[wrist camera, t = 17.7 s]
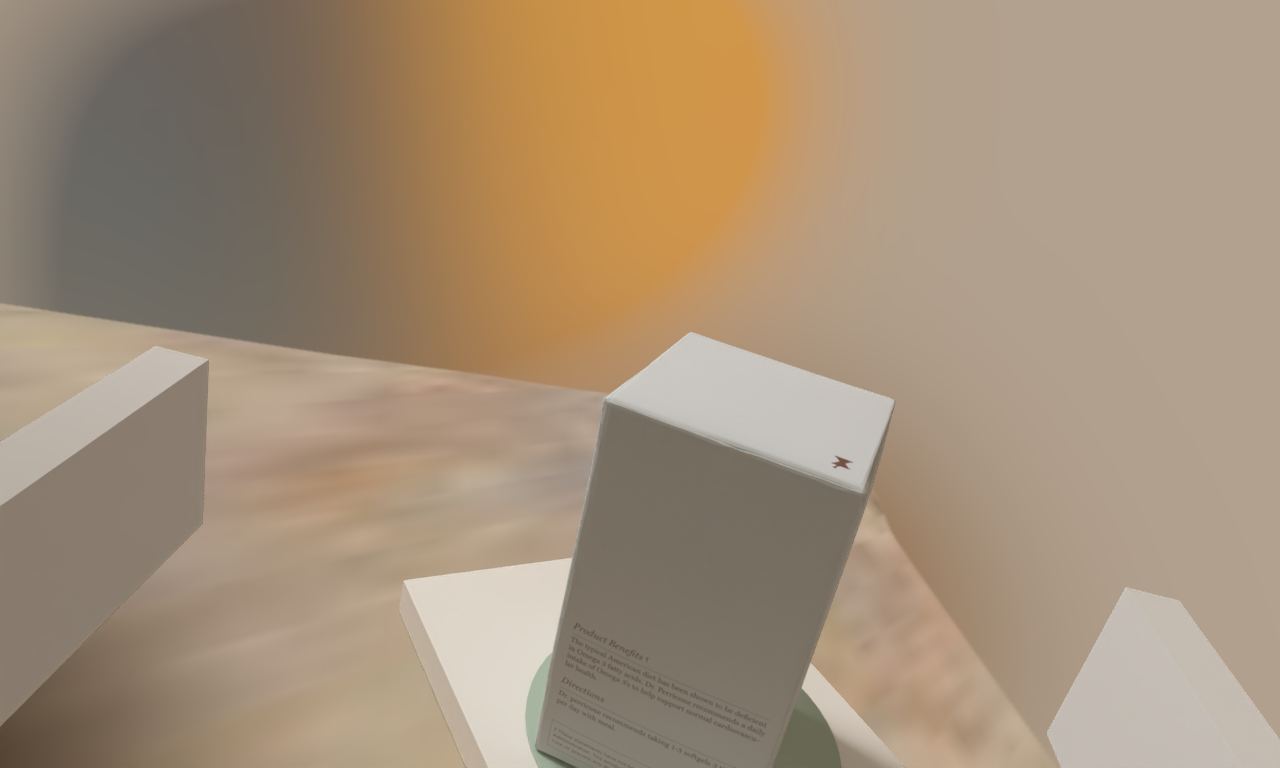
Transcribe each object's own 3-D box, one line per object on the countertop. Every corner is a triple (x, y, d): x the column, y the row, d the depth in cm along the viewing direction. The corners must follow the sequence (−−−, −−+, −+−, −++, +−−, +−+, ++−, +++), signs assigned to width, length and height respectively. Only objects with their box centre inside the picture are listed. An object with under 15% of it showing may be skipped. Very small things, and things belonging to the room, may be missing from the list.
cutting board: (398, 611, 36) (404, 575, 36) (692, 567, 44) (701, 537, 43) (635, 1162, 21) (651, 1118, 21) (1027, 955, 28) (1048, 918, 28)
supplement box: (795, 705, 34) (908, 399, 29) (739, 856, 27) (872, 494, 22) (614, 624, 36) (691, 324, 31) (522, 747, 29) (600, 391, 24)
